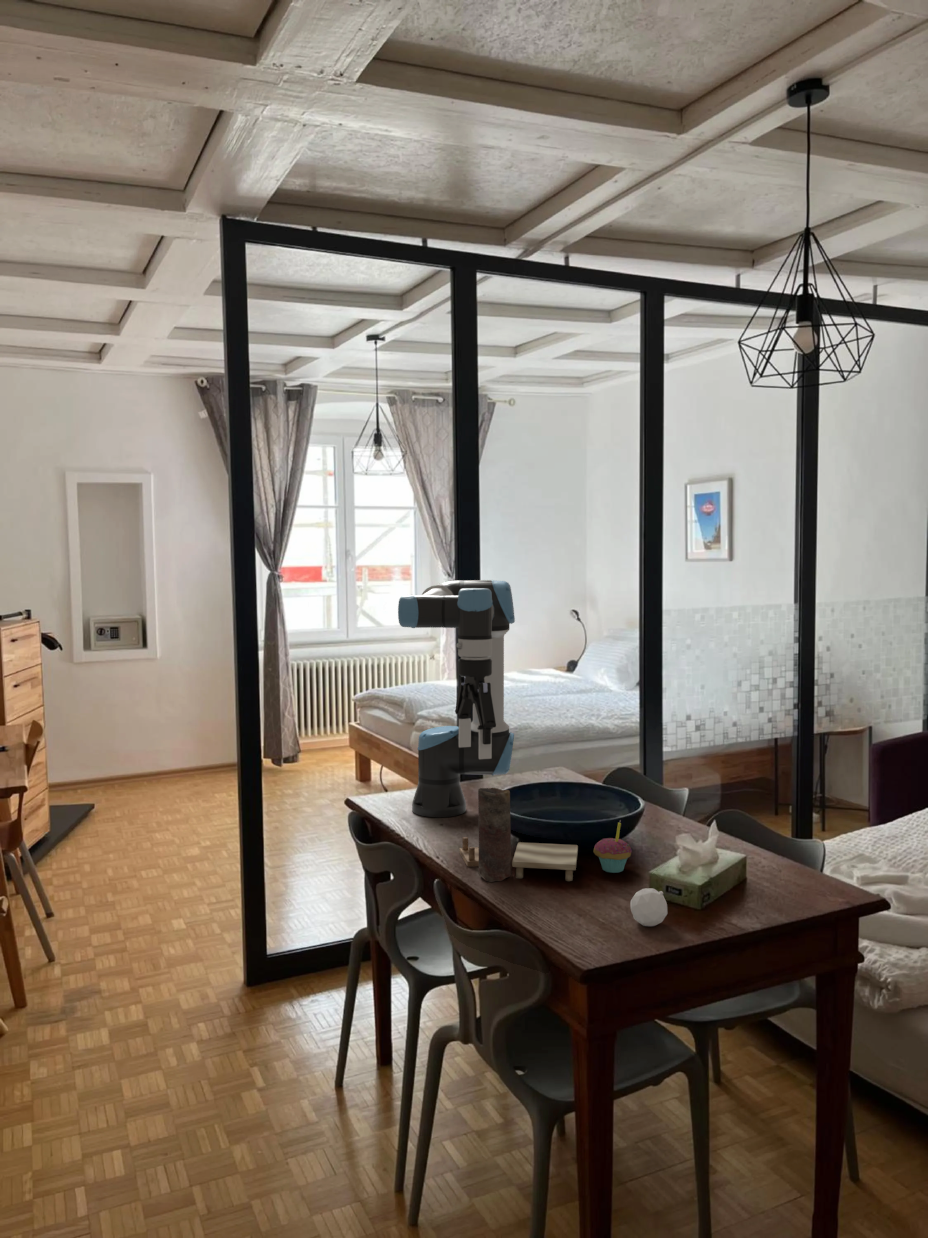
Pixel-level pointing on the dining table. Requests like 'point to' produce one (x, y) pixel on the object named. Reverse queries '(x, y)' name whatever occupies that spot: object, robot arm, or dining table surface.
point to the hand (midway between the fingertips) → (474, 752)
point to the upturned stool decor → (469, 853)
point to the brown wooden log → (494, 834)
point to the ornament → (649, 907)
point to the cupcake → (613, 853)
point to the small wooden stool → (545, 857)
